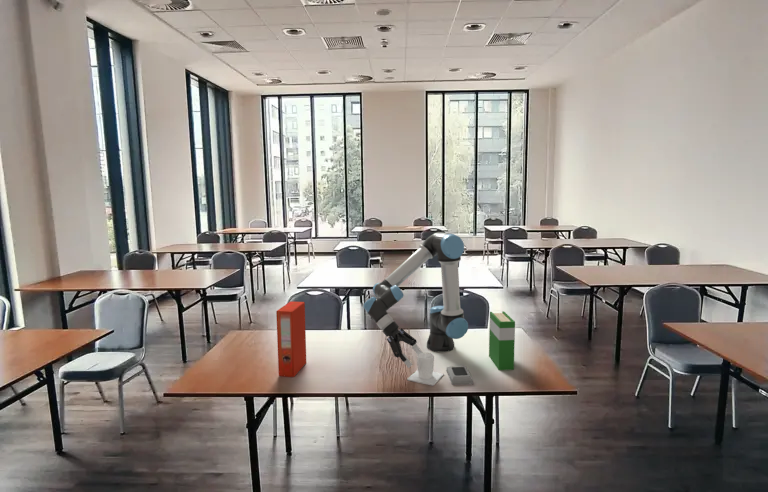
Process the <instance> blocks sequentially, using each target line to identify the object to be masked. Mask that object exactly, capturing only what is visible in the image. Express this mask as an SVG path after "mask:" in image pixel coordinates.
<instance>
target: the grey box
mask: <svg viewBox="0 0 768 492" xmlns="http://www.w3.org/2000/svg"><path fill="white" fill-rule="evenodd" d="M445 371H446V373H447V375H448V378H449V381H450V383H451V385H453V386H454V385H473V384H474V379H473V377H472V375H471V373H470V372H469V369H468V367H467V366H465V365H457V366H456V365H455V366H446V370H445Z"/></svg>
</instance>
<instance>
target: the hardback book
mask: <svg viewBox="0 0 768 492" xmlns="http://www.w3.org/2000/svg"><path fill="white" fill-rule="evenodd" d="M488 331H489V333H488V341H489V343H488V357H489V358H490V360H491V362H492V363H493V365H495V367H496V369H497V370H498V371H514V369H515V336H516V332H515V331H516V322H515V320H514V319H513V318H511V316H510V315H509V314H508V313H506V312H505V311H503V310H502V311H501V312H498V313H497V312H495V313H494V312H492V311H489V330H488Z"/></svg>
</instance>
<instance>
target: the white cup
mask: <svg viewBox="0 0 768 492" xmlns="http://www.w3.org/2000/svg"><path fill="white" fill-rule="evenodd" d="M416 362H417V363H416V365H417V370H418V376H419V377H420V378H422V379H430V378H432V377H433V372H434V366H435V365H434V364H435V355H434V354H433V353H431V352H423V353H420V354H418V355H417V354H416Z"/></svg>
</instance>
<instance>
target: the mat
mask: <svg viewBox="0 0 768 492" xmlns="http://www.w3.org/2000/svg"><path fill="white" fill-rule="evenodd" d="M443 376H444V373H441V372H437V371H433V377H432V378H430V379H422V378H420V377H419V376H418V369H416V370H415V372H414V373H412V374H411V375H410V376H409V377H407V379H406V381H409V382H413V383H419V384H423V385H427V386H428V385H429V386H433V387H434V386H435V385H436V384H437V382H438V381H440V380H441V379H442V377H443Z"/></svg>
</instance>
